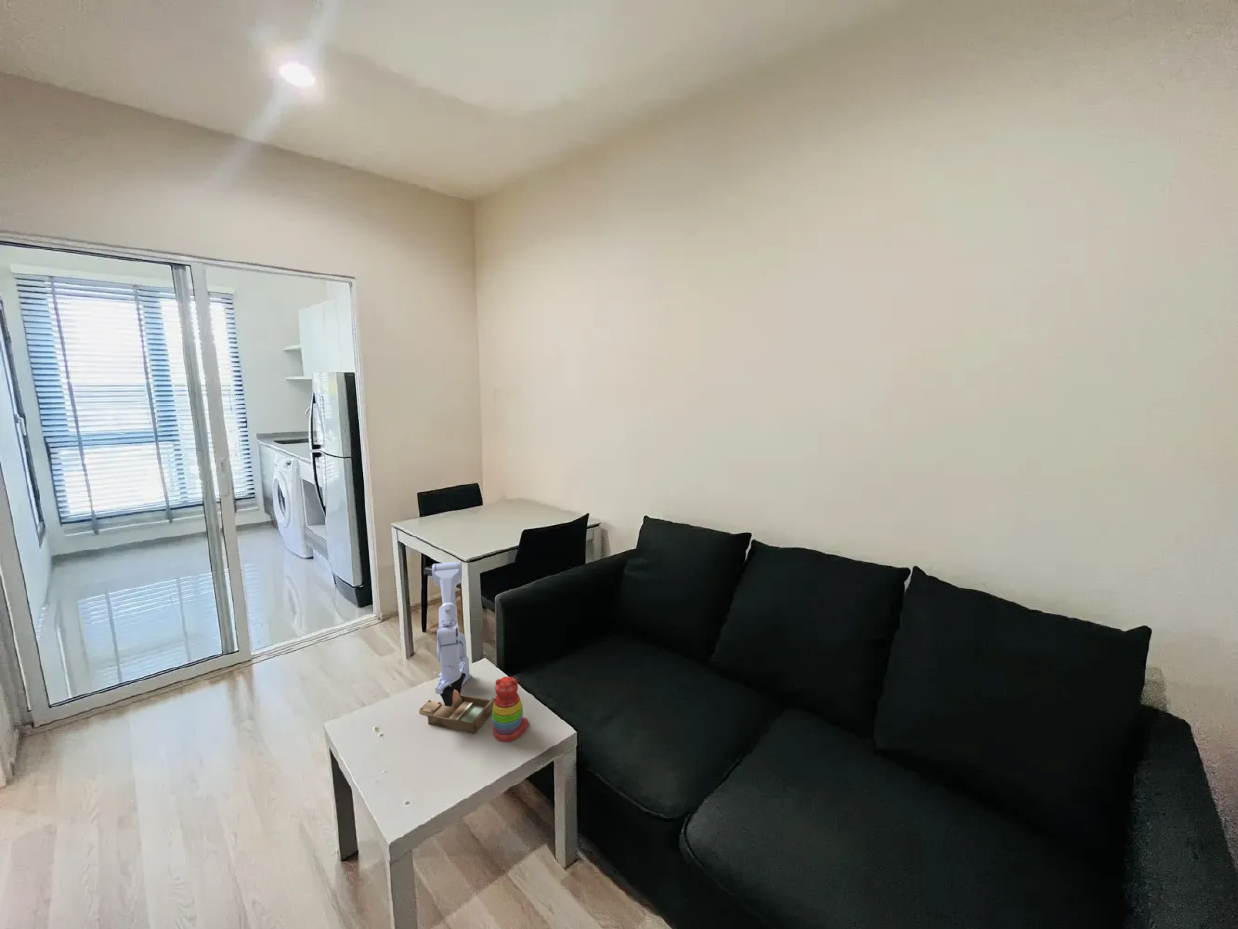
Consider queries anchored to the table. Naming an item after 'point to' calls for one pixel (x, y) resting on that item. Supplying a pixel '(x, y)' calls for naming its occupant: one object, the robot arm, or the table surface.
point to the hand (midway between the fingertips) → (452, 700)
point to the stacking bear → (508, 711)
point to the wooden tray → (463, 714)
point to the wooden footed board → (430, 707)
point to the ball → (455, 696)
